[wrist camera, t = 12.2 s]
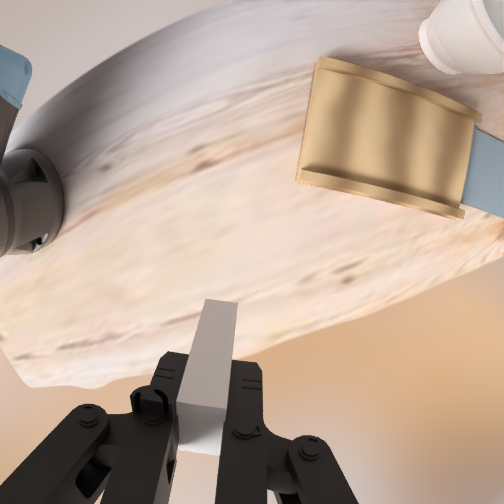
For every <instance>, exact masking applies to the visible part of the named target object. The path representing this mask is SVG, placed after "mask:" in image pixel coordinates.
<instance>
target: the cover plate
mask: <svg viewBox="0 0 504 504" xmlns="http://www.w3.org/2000/svg"><path fill="white" fill-rule="evenodd" d="M460 203H461V204H465V205H468V206H471V207H474V208H477V209H480V210H483V211H485V212H488V213H491V214H494V215H497V216H499V217H502V218H504V143H503V142H501V141H499V140H497V139H495V138H493V137H491V136H489V135H488V134H486V133H484V132H482V131H479V130H477V126H476V125H474V128H473V136H472V143H471V150H470V156H469V162H468V168H467V173H466V178H465V183H464V188H463V192H462V197H461V201H460Z"/></svg>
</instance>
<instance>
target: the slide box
mask: <svg viewBox="0 0 504 504" xmlns="http://www.w3.org/2000/svg"><path fill="white" fill-rule="evenodd" d="M481 120H482V114H481V113H479V112H477V111H475V110H473V109H471V108H469V107H467V106H465V105H463V104H461V103H459V102H456V101H454V100H452V99H450V98H448V97H445V96H443V95H441V94H438V93H436V92H434V91H431V90H429V89H426V88H424V87H421V86H419V85H416V84H414V83H411V82H408V81H405V80H403V79H400V78H397V77H394V76H391V75H388V74H385V73H382V72H379V71H376V70H373V69H369V68H366V67H363V66H359V65H356V64H352V63H348V62H344V61H341V60H337V59H333V58H328V57H324V56H319V58H318V60H317V61H316V63H315V66H314V73H313V79H312V85H311V92H310V98H309V104H308V110H307V116H306V122H305V128H304V134H303V139H302V145H301V151H300V156H299V162H298V168H297V173H296V179H295V180H296V181H297V182H298V183H300V184H306V185H311V186H316V187H321V188H326V189H331V190H336V191H340V192H345V193H350V194H354V195H359V196H363V197H368V198H372V199H376V200H381V201H385V202H389V203H393V204H397V205H401V206H405V207H409V208H413V209H417V210H421V211H424V212H428V213H432V214H436V215H439V216H443V217H446V218H450V219H453V220H456V218H461V219H463V218H464V215H465V211H464V210H462V209H459V206H460V201H461V197H462V192H463V188H464V183H465V178H466V173H467V168H468V162H469V156H470V150H471V143H472V136H473V128H474V122H481Z"/></svg>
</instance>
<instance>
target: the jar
mask: <svg viewBox="0 0 504 504" xmlns="http://www.w3.org/2000/svg"><path fill="white" fill-rule="evenodd" d="M418 36H419V42H420V46H421V48H422V51H423V52H424V54H425V56H426V57H427V59H428V60H429V61H430V62H431V63H432V65H434V66H435V67H436V68H437V69H439V70H440V71H442V72H444V73H446V74H450V75H458V74H461V73H467V74H499V73H504V0H441V1H440V2H439V4H438V5H437V6H436V7H435V9H434V10H433V11H432V13H431V15H430V17H429V18H427V19H425V20H424V21H423V22H422V23H421V25H420V27H419V32H418Z"/></svg>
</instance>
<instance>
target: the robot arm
mask: <svg viewBox="0 0 504 504" xmlns="http://www.w3.org/2000/svg"><path fill="white" fill-rule="evenodd" d="M31 75H32V66H31V63H30V61H29V60H28V59H27V58H26V57H24V56H22V55H20V54H19V53H16V52H14V51H12V50H10V49H8V48H6V47H4V46H2V45H0V257H1V256H3V255H16V254H30V253H34V252H36V251H38V250H40V249H42V248H43V247H45V246H47V245H48V244H49V243H50V242H51V241H52V240H53V239H54V238H55V236H56V234H57V233H58V230H59V228H60V225H61V222H62V217H63V207H64V201H63V191H62V186H61V183H60V179H59V176H58V174H57V172H56V170H55V168H54V166H53V165H52V163H51V162H50V161H49V159H48V158H47V157H46V156H45V155H43V154H42V153H41V152H39V151H37V150H34V149H18V150H13V151H10V152H8V153H6V154H5V155H4V153H5V149H6V146H7V143H8V139H9V136H10V133H11V131H12V128H13V125H14V122H15V119H16V117H17V114H18V112H19V109H21V107H22V100H23V97H24V95H25V92H26V89H27V86H28V84H29V81H30V78H31ZM237 307H238V303H233V302H225V301H218V300H210V299H206V300H205V303H204V307H203V310H202V313H201V317H200V320H199V323H198V327H197V330H196V334H195V337H194V340H193V344H192V347H191V351H190V354H189V355H188V354H181V353H175V352H169V351H168V352H167V353H166V354H165V355H163V356H162V357H161V358H160V360H159V362H158V365H157V368H156V370H155V373H154V376H153V378H152V380H151V383H150V385H147V386H143V387H139V388H138V389H136V390H134V391H133V392H132V394H131V395H130V400H131V405H132V411H133V412H131V413H127V414H107V413H106V412H105V410H104V409H103V408H101V407H100V406H97V405H94V404H83V405H79V406H78V407H76V408H75V409H73V410H72V411H71V412H70V413H69V414H68V415H67V416H66V417H65V418H64V419H63V420H62V421H61V422H60V423H59V425H57V427H56V428H55V429H54V430H53V431H52V432H51V433H50V434H49V435H48V436H47V437H46V438H45V439H44V440H43V441H42V442H41V443H40V444H39V445H38V446H37V447H36V449H34V450H33V452H32V453H31V454H30V455H29V456H28V457H27V458H26V459H25V460H24V461H23V462H22V463H21V464H20V465H19V466H18V467H17V468H16V470H15V471H14V472H13V473H12V474H11V475H10V476H9V477H8V478H7V479H6V480H5V481H4V482H3V484H2V485H1V486H0V504H94V503H95V502H96V500H97V499H98V497H99V496H100V495H101V493H102V492H103V491H104V493H103V496H102V499H101V502H100V504H168V502H169V497H170V492H171V487H172V482H173V477H174V472H175V468H176V463H177V461H176V453H177V448H178V447H179V450H184V451H190V452H197V453H204V454H211V455H219V456H220V459H219V468H218V476H217V486H216V496H215V504H267V489H268V490H271V491H274V494H275V497H276V500H277V503H278V504H359V503H358V502H357V500H356V498H355V496H354V494H353V492H352V490H351V488H350V486H349V484H348V482H347V480H346V479H345V476H344V474H343V472H342V471H341V469H340V467H339V465H338V463H337V461H336V459H335V457H334V455H333V453H332V451H331V449H330V447H329V446H328V445H327V443H326V442H325V441H324V440H322V439H320V438H319V437H315V436H311V435H304V436H300V437H297V438H295V439H294V440H293V441H292V440H289V439H286V438H282V437H280V436H277V435H275V434H273V433H272V432H271V431H269V430H268V428H267V427H266V426H265V424H264V421H263V391H262V370H261V369H260V367H259V365H258V364H257V363H256V362H247V361H238V360H232V353H233V344H234V334H235V325H236V316H237ZM104 489H105V490H104Z"/></svg>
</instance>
